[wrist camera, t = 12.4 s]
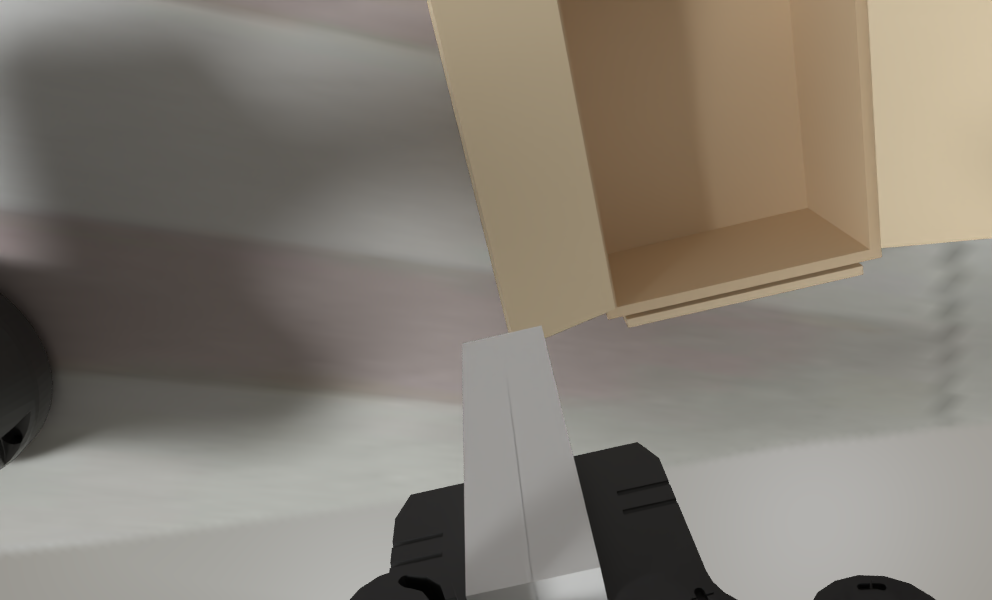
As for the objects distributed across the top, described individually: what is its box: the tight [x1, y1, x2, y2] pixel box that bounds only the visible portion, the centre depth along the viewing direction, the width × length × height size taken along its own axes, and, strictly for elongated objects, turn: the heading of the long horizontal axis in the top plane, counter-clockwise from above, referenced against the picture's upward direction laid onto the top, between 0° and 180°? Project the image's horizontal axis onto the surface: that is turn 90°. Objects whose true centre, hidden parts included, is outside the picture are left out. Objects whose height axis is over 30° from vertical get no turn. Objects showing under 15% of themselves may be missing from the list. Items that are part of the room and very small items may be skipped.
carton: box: [557, 0, 882, 328], centre depth 45 cm, size 15×21×9 cm
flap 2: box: [867, 0, 992, 248], centre depth 39 cm, size 1×17×6 cm
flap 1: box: [427, 0, 615, 338], centre depth 40 cm, size 1×17×6 cm
